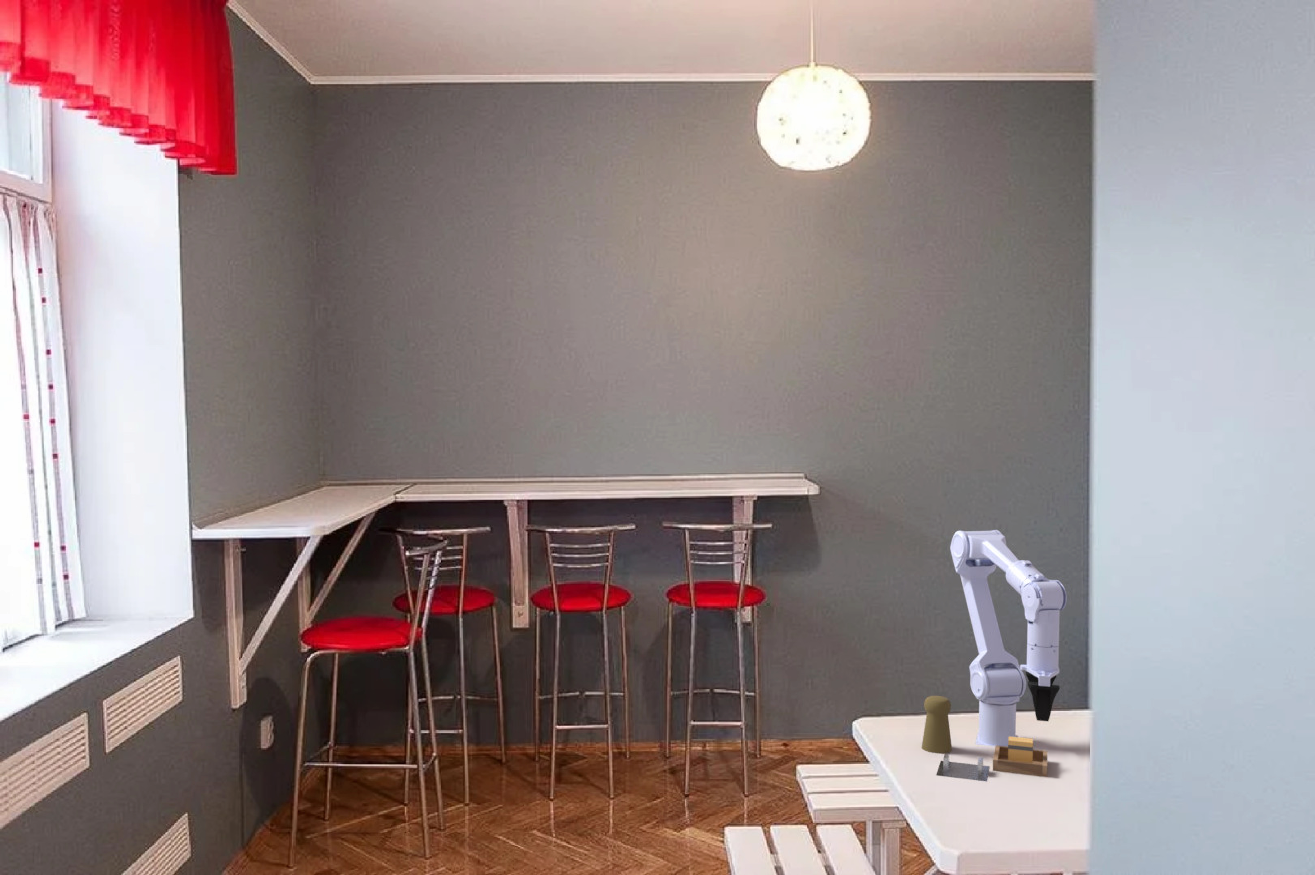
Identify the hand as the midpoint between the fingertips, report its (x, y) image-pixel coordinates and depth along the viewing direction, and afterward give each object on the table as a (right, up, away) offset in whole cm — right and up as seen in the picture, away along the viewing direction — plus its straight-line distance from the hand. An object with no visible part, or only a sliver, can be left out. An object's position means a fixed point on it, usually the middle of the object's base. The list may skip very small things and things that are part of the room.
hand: (1041, 715), depth 211 cm
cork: (-18, -10, +10) cm, 22 cm away
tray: (-4, -10, -1) cm, 11 cm away
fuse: (-4, -10, 0) cm, 10 cm away
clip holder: (-16, -10, -4) cm, 19 cm away
